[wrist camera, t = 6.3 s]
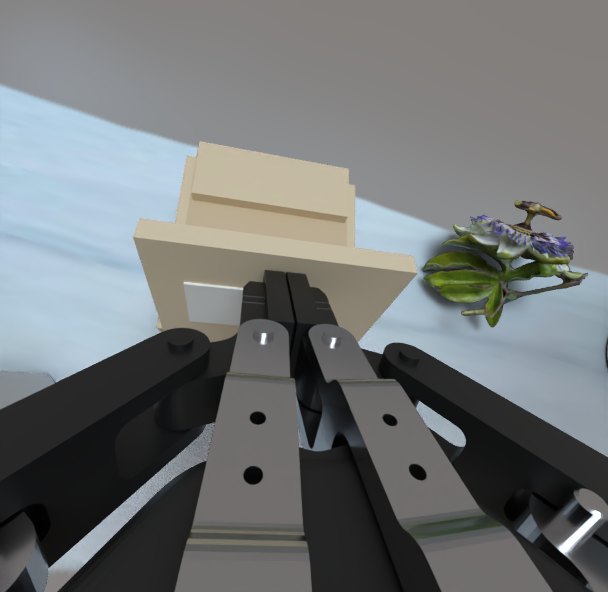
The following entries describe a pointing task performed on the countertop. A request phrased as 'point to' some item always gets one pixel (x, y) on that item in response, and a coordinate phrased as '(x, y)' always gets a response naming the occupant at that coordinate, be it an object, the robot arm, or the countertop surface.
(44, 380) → the milk carton
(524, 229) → the passion flower
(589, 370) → the countertop surface
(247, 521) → the robot arm
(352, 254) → the flap
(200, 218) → the carton
